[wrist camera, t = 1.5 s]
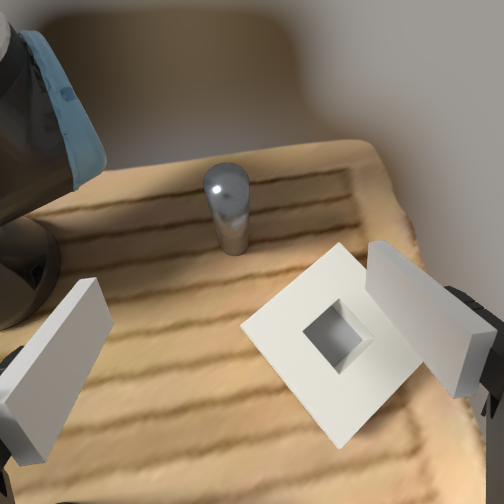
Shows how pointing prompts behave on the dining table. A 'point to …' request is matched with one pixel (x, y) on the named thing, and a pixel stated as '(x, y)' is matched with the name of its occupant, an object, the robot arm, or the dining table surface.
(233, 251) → the pin
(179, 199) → the dining table surface
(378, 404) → the hole block
